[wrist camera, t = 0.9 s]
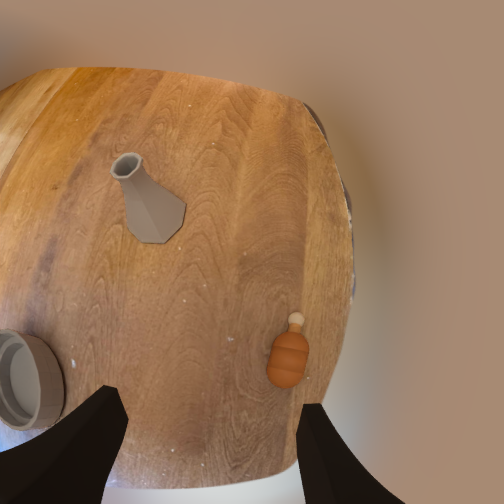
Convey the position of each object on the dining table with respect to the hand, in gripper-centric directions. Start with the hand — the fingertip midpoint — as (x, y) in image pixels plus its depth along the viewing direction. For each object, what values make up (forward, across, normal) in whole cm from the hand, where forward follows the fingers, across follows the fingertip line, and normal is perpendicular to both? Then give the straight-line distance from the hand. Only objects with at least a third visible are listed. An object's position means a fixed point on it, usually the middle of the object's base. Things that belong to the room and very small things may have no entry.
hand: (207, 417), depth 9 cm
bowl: (+11, +25, +15) cm, 31 cm away
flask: (+25, +10, -2) cm, 27 cm away
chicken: (+15, -5, +8) cm, 18 cm away
